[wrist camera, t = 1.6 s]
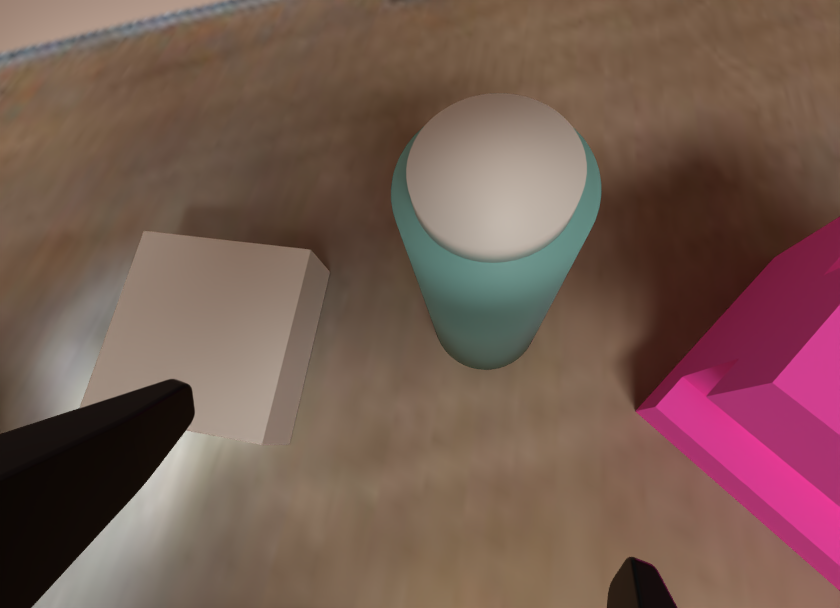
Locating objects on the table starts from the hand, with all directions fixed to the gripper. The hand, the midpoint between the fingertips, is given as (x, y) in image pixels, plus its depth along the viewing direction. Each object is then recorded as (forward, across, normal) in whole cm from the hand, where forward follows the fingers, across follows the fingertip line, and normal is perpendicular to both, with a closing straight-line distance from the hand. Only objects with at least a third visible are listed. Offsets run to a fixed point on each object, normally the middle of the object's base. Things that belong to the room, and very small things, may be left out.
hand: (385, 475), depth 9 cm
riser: (+10, +12, +8) cm, 18 cm away
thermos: (+14, 0, +4) cm, 15 cm away
